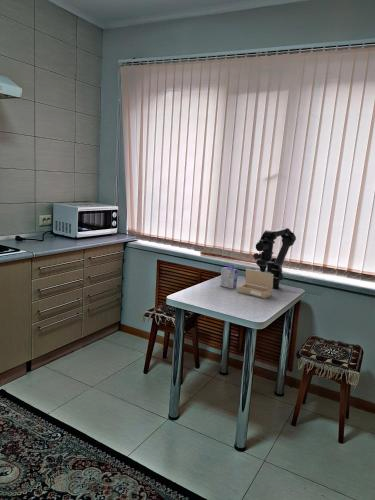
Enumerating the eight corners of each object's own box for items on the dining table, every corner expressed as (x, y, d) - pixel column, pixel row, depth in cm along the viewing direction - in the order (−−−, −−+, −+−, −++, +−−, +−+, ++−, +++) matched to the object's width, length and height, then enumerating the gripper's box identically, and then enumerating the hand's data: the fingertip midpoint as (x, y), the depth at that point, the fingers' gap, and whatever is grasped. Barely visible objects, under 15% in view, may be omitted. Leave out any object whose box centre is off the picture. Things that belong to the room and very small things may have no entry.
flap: (245, 282, 247) (250, 279, 252) (272, 288, 237) (276, 285, 242) (245, 268, 245) (250, 266, 250) (273, 274, 234) (277, 271, 239)
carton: (245, 289, 248) (245, 283, 248) (271, 295, 238) (272, 289, 237) (237, 292, 240) (238, 286, 239) (264, 298, 230) (265, 292, 229)
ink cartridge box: (236, 287, 252) (239, 265, 249) (233, 289, 247) (235, 266, 245) (223, 284, 257) (225, 263, 255) (219, 285, 252) (221, 264, 250)
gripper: (262, 247, 257) (259, 270, 260) (249, 249, 242) (247, 273, 245) (278, 249, 251) (275, 273, 254) (266, 252, 236) (263, 277, 238)
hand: (265, 274), depth 248 cm, fingers open, 9 cm apart
